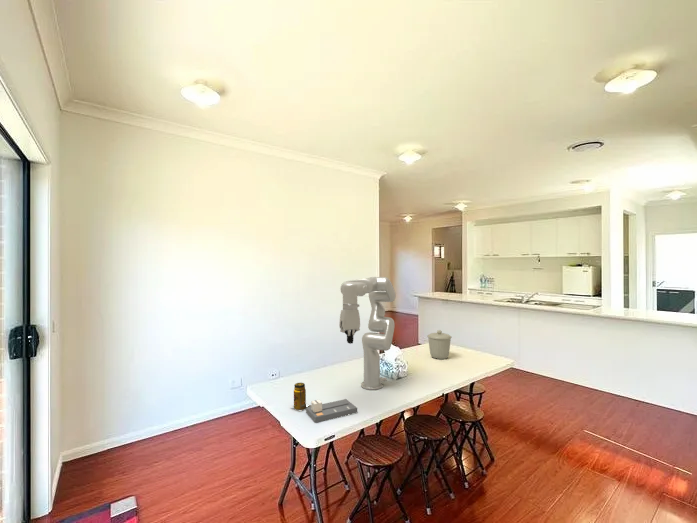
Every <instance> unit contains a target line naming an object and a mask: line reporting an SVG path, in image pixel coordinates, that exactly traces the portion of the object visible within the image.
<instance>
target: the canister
mask: <svg viewBox="0 0 697 523" xmlns="http://www.w3.org/2000/svg"><path fill="white" fill-rule="evenodd" d="M427 337H428V338H427V339H428V346H429V355H430V356H431V357H432V358H433V359H435V358H437V359H436V360H446V359H448V358H449V356H450V349H451V339H452V336H451V335H450V334H448V333H444V332H442V330H441V329H438V330H437V331H436V332H431V333H429V334H428V335H427Z"/></svg>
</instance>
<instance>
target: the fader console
mask: <svg viewBox="0 0 697 523" xmlns="http://www.w3.org/2000/svg"><path fill="white" fill-rule="evenodd" d="M356 412H357V413H358V407H357V406H356V405H354V404H353V403H352V402H351V401H349V399H346V398H344V399H340V400H335V401H331V402H330V401H329V402H326V403H322V411H320V412H315V413H314V412H313V411H312V410H311V407H306V409H305V413H306V415H307V416H308V417H309V418H310V420H312V421H313V422H314V423H315V424H317V423H321V422H325V420H326V421H330V420H334V419H338V418H341V416H342V417H346V416H349V415H348V414H350V415H353V414H352V413H355V414H357V413H356ZM345 415H346V416H345ZM337 417H338V418H337ZM333 418H334V419H333ZM329 419H330V420H329Z"/></svg>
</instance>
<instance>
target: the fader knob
mask: <svg viewBox="0 0 697 523" xmlns="http://www.w3.org/2000/svg"><path fill="white" fill-rule="evenodd" d="M322 404H323V402H322V401H321V400H320V399H317V400H316V399H315V400H312V401H311V404H310V405H311V410H312V411H313V412H314V413H315V412H320V411H322Z"/></svg>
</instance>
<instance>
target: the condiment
mask: <svg viewBox="0 0 697 523" xmlns="http://www.w3.org/2000/svg"><path fill="white" fill-rule="evenodd" d="M306 390H307V389H306V385H305V382H297V383H295V384H294V389H293V407H294V409H296V410H295V411H297V410H301V411H298V412H302V410H303V411H305V410H306V404H307V400H306V398H307V395H306V394H307V391H306ZM308 405H309V406H308V407H311V404H308ZM294 409H293V410H294ZM304 409H305V410H304Z"/></svg>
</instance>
